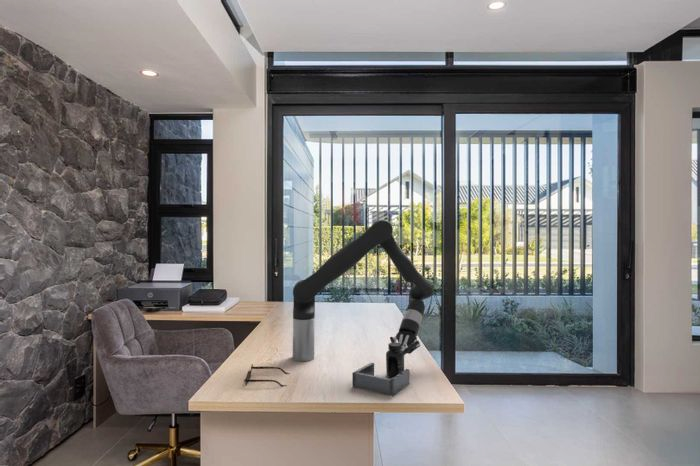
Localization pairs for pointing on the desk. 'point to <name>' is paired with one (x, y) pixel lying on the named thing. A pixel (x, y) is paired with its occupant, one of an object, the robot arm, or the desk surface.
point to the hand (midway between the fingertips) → (398, 361)
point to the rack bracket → (379, 381)
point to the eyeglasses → (262, 380)
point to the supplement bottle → (394, 360)
